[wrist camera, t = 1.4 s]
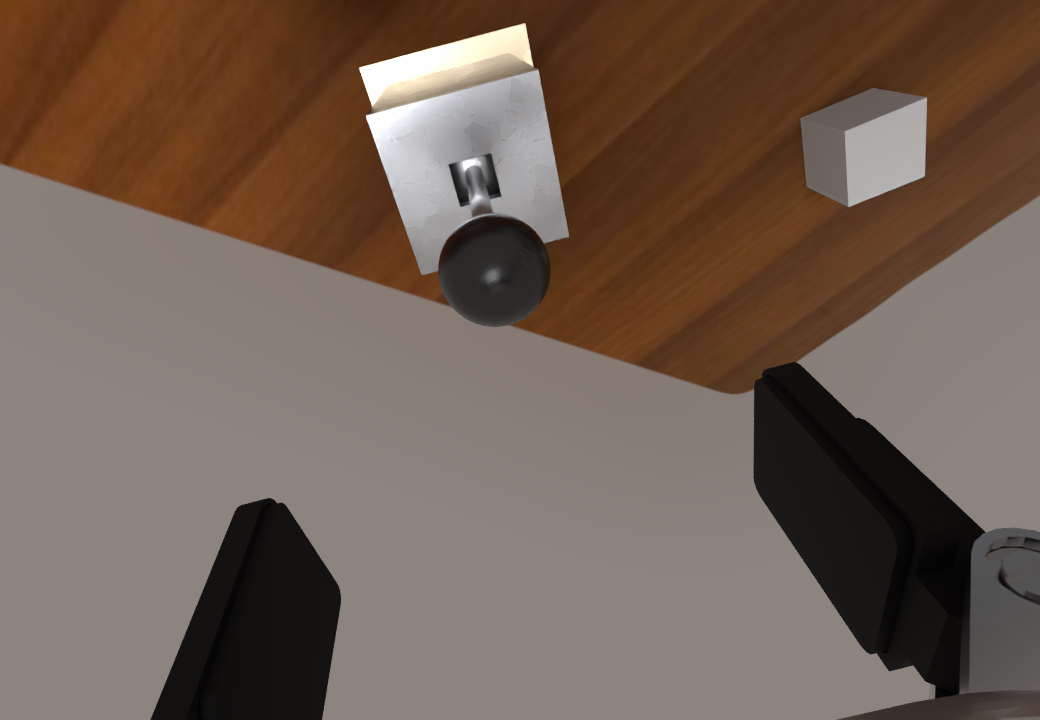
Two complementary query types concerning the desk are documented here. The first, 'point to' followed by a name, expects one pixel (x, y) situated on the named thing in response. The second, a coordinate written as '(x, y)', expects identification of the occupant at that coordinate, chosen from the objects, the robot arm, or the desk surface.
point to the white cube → (865, 145)
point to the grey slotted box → (464, 135)
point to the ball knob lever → (491, 254)
